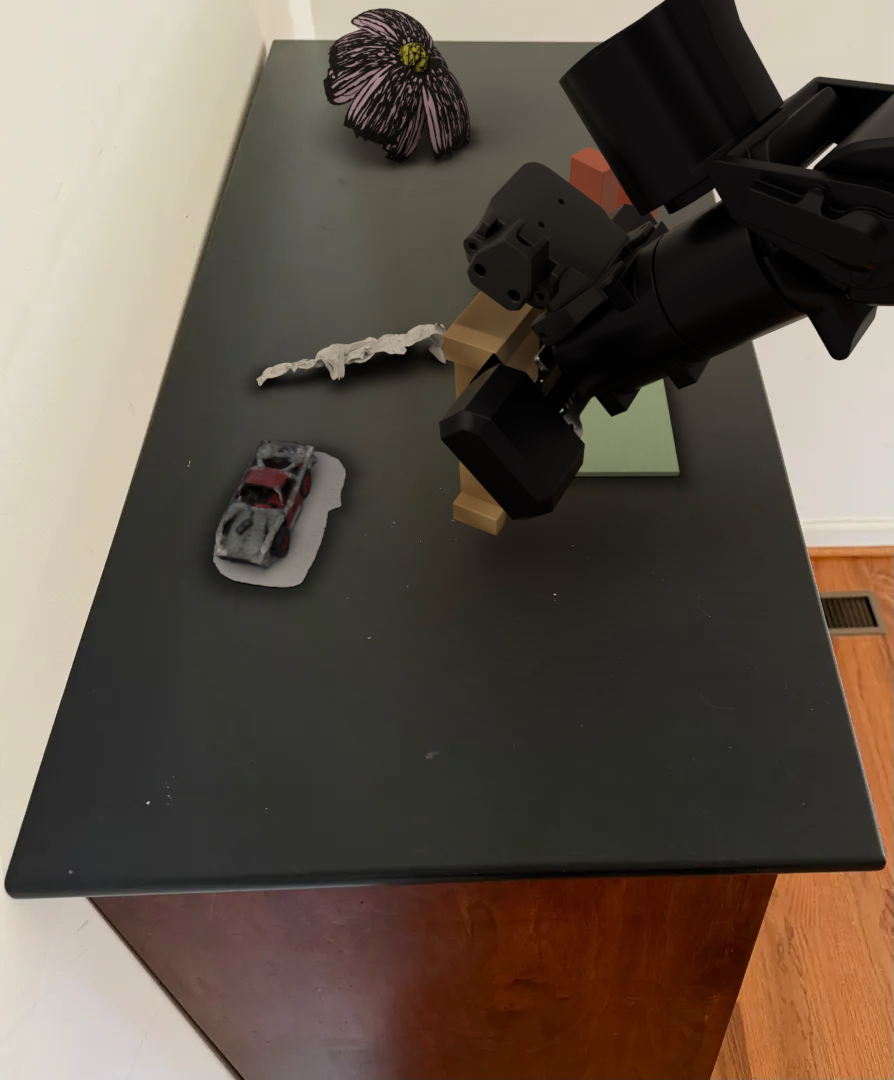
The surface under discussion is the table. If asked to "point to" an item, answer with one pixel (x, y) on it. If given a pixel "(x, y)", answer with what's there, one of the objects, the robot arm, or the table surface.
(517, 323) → the letter I
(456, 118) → the decorative flower
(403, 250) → the table surface
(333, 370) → the paper
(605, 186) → the letter H
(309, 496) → the toy car
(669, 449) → the word mat
